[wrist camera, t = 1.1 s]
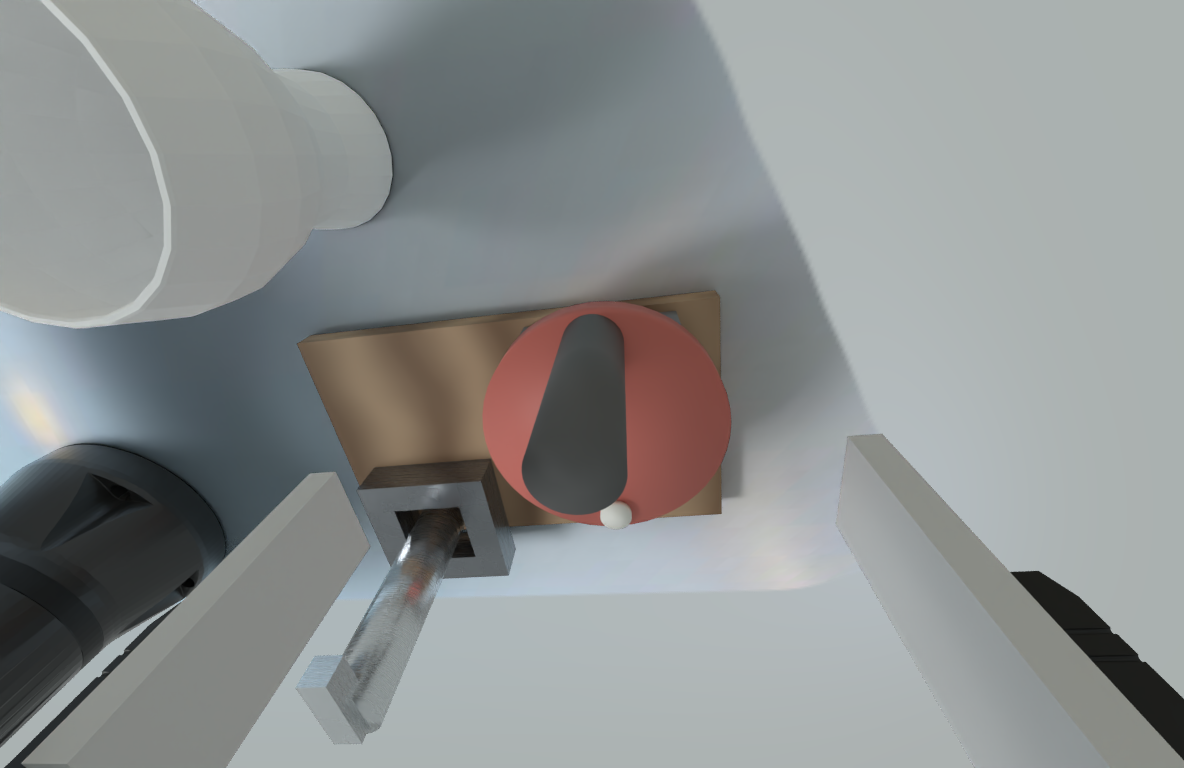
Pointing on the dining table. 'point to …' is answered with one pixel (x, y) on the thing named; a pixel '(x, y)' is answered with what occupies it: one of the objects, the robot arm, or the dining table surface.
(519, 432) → the handwheel
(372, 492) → the eye
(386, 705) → the hook peg
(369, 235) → the dining table surface
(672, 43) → the dining table surface
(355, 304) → the dining table surface
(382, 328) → the board
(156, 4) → the cup
